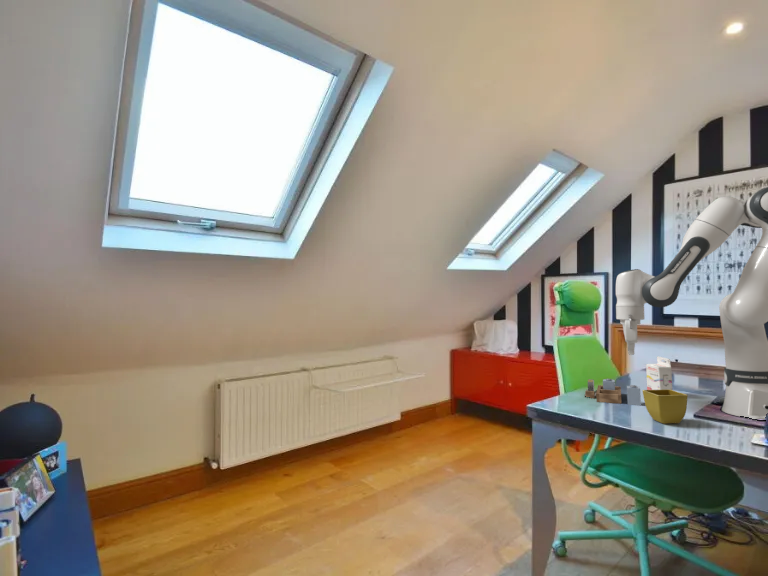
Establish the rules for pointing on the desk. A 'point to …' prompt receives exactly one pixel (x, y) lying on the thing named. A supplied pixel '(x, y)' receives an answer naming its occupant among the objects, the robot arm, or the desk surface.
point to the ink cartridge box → (659, 375)
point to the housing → (605, 395)
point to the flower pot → (665, 405)
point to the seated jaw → (608, 384)
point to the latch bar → (590, 385)
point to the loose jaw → (633, 395)
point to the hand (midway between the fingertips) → (631, 353)
